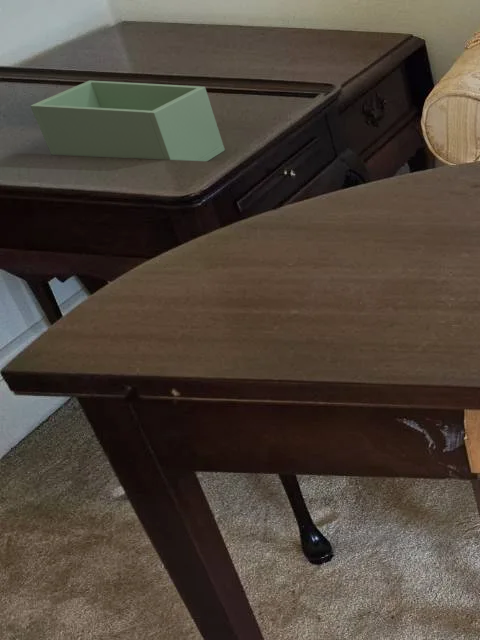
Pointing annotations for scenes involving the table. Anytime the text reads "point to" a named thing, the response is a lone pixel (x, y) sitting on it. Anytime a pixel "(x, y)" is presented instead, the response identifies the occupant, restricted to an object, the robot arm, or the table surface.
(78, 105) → the basket
